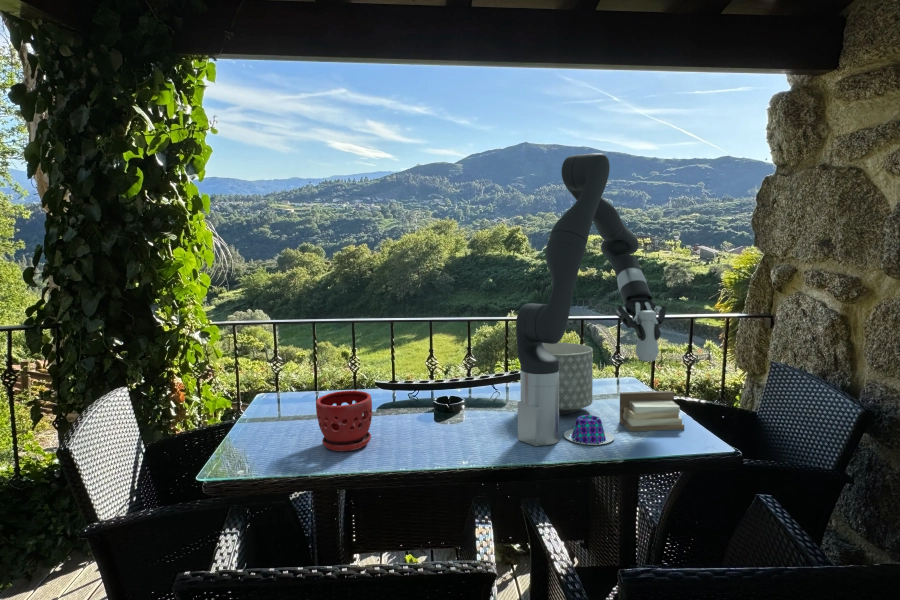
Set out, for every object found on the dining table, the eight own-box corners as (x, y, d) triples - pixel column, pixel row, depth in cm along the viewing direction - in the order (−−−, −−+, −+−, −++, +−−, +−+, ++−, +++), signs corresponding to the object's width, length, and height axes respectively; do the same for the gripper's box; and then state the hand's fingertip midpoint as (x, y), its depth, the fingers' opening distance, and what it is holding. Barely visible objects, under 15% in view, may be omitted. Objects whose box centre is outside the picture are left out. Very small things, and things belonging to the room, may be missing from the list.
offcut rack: (684, 429, 140) (685, 398, 139) (630, 431, 140) (630, 400, 139) (671, 420, 148) (671, 390, 147) (619, 421, 147) (619, 392, 147)
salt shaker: (661, 361, 142) (662, 311, 141) (639, 362, 142) (640, 312, 141) (653, 357, 148) (654, 309, 147) (632, 357, 148) (633, 309, 147)
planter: (595, 421, 148) (596, 354, 146) (524, 419, 151) (523, 354, 149) (589, 402, 166) (589, 342, 165) (525, 400, 169) (525, 342, 168)
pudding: (605, 430, 142) (605, 410, 141) (621, 446, 130) (621, 425, 129) (559, 431, 141) (559, 411, 141) (570, 448, 130) (570, 426, 129)
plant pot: (330, 435, 141) (328, 389, 140) (379, 437, 139) (378, 390, 137) (308, 454, 128) (306, 403, 127) (363, 456, 126) (361, 405, 125)
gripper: (611, 279, 150) (627, 330, 139) (662, 278, 151) (682, 329, 140) (605, 297, 156) (619, 347, 145) (654, 296, 157) (672, 346, 146)
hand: (650, 338), depth 143 cm, fingers closed on salt shaker, 3 cm apart
